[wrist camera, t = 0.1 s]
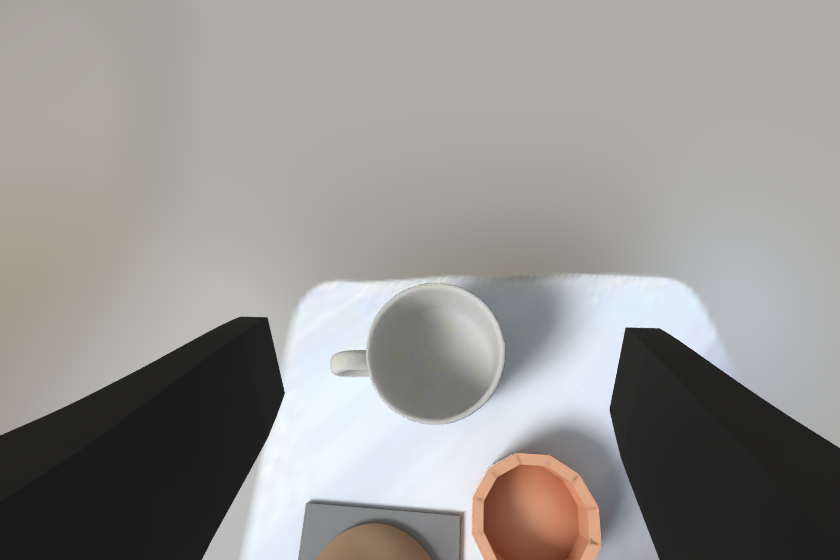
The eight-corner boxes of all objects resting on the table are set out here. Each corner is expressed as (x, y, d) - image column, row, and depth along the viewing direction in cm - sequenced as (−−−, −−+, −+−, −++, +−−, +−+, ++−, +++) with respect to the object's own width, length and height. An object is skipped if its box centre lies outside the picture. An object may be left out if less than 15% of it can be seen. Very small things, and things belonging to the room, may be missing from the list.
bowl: (591, 586, 34) (605, 601, 30) (471, 574, 35) (471, 587, 31) (582, 458, 37) (595, 458, 33) (473, 450, 38) (473, 450, 34)
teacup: (502, 315, 42) (507, 285, 35) (497, 436, 38) (503, 430, 31) (360, 307, 44) (336, 276, 37) (342, 420, 40) (312, 412, 33)
